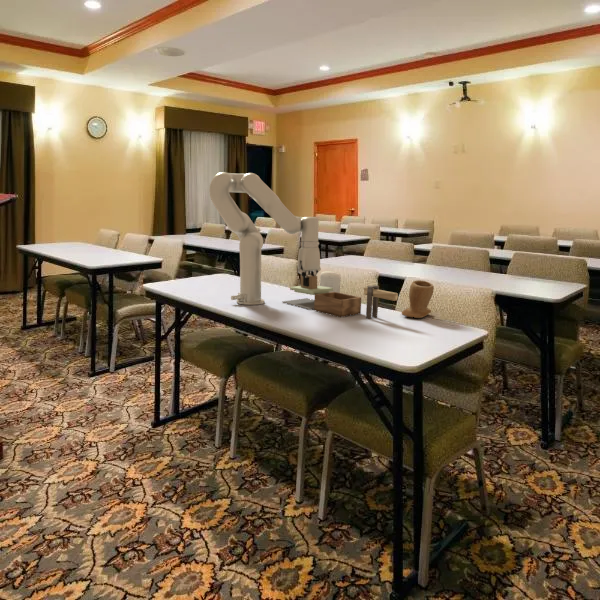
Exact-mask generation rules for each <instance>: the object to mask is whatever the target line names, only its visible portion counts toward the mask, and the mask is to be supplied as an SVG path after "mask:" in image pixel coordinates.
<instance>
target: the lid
mask: <svg viewBox="0 0 600 600" xmlns="http://www.w3.org/2000/svg"><path fill="white" fill-rule="evenodd" d="M308 278H309V286H308V287H307V286H303V277H302V275H301V274H300V285H297V286H296V285H295V286H290V287H289V290H290V291H293V292H295V293H298V294H299V293H300V294H305V295H311V296H315V294H322V293H329V291H333V288H330V287H323V286H320V285H318V276H317V275H316V276H311V275H310V274H308Z"/></svg>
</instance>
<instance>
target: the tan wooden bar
mask: <svg viewBox="0 0 600 600" xmlns="http://www.w3.org/2000/svg"><path fill="white" fill-rule="evenodd" d="M367 288H368V286H367V287H363V295H364V296H367ZM398 295H399V293H397V292H393V291H387V290H384V289H383V290H382V289H380V288H379V289H373V296H372V298H373V297H378V299H384V300H390V301H393V302H395V301H398V297H399V296H398Z"/></svg>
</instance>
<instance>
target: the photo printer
mask: <svg viewBox="0 0 600 600" xmlns="http://www.w3.org/2000/svg"><path fill="white" fill-rule="evenodd" d="M319 286H323V287H330V288H333V291H329V292H338V293H341V274H340V273H339V272H336V271H332V270H331V271H330V270H329V271H328V270H327V271H322V272H320V277H319Z"/></svg>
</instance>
